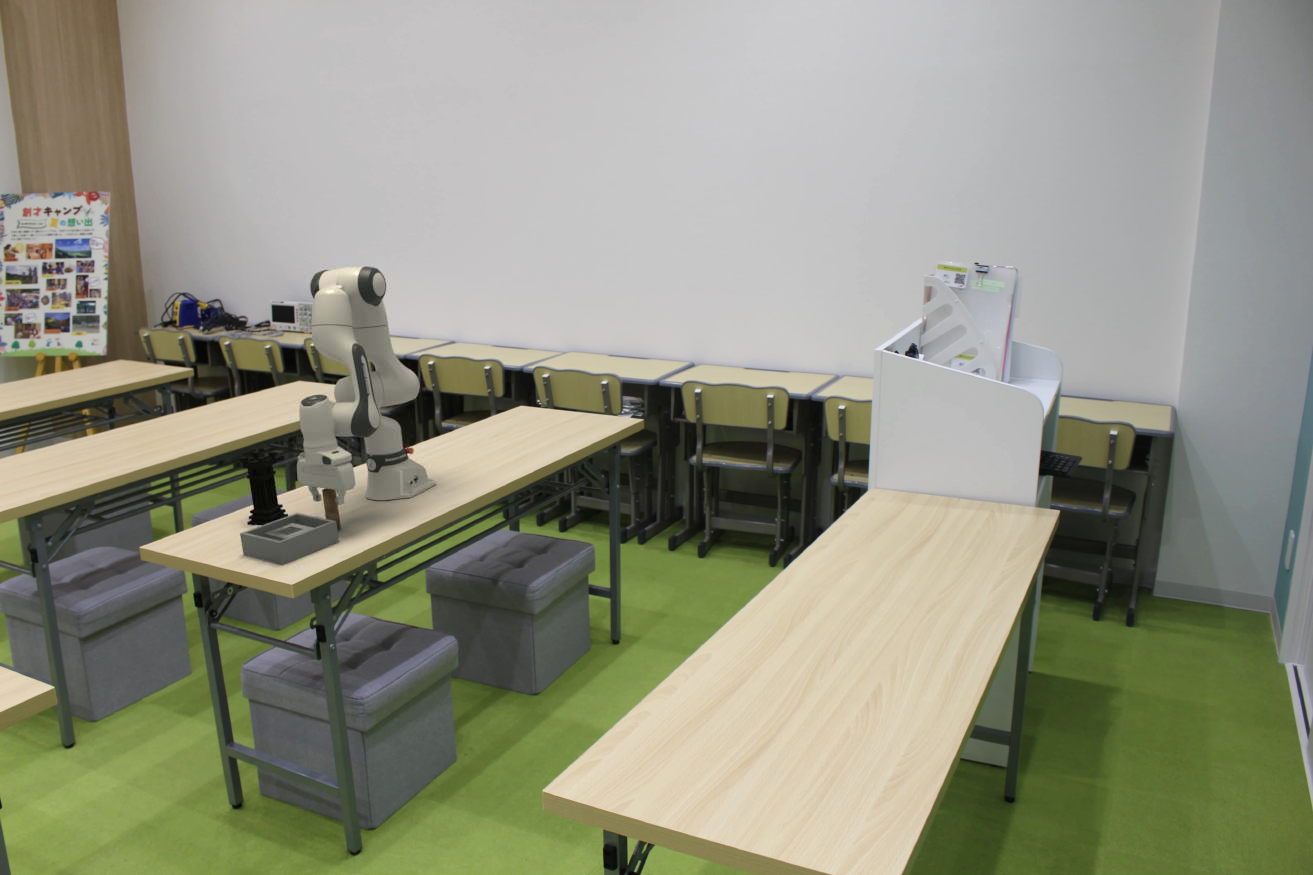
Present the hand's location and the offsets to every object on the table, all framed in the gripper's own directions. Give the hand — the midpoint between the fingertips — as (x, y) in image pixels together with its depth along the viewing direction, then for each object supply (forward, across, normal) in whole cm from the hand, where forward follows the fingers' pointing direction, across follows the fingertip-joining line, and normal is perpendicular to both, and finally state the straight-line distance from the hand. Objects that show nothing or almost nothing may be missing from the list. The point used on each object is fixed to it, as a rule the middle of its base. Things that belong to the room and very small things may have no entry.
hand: (328, 502), depth 261 cm
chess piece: (+8, -25, -2) cm, 27 cm away
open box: (+8, +1, -14) cm, 17 cm away
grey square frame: (+7, +1, -14) cm, 16 cm away
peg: (+8, 0, +1) cm, 8 cm away
